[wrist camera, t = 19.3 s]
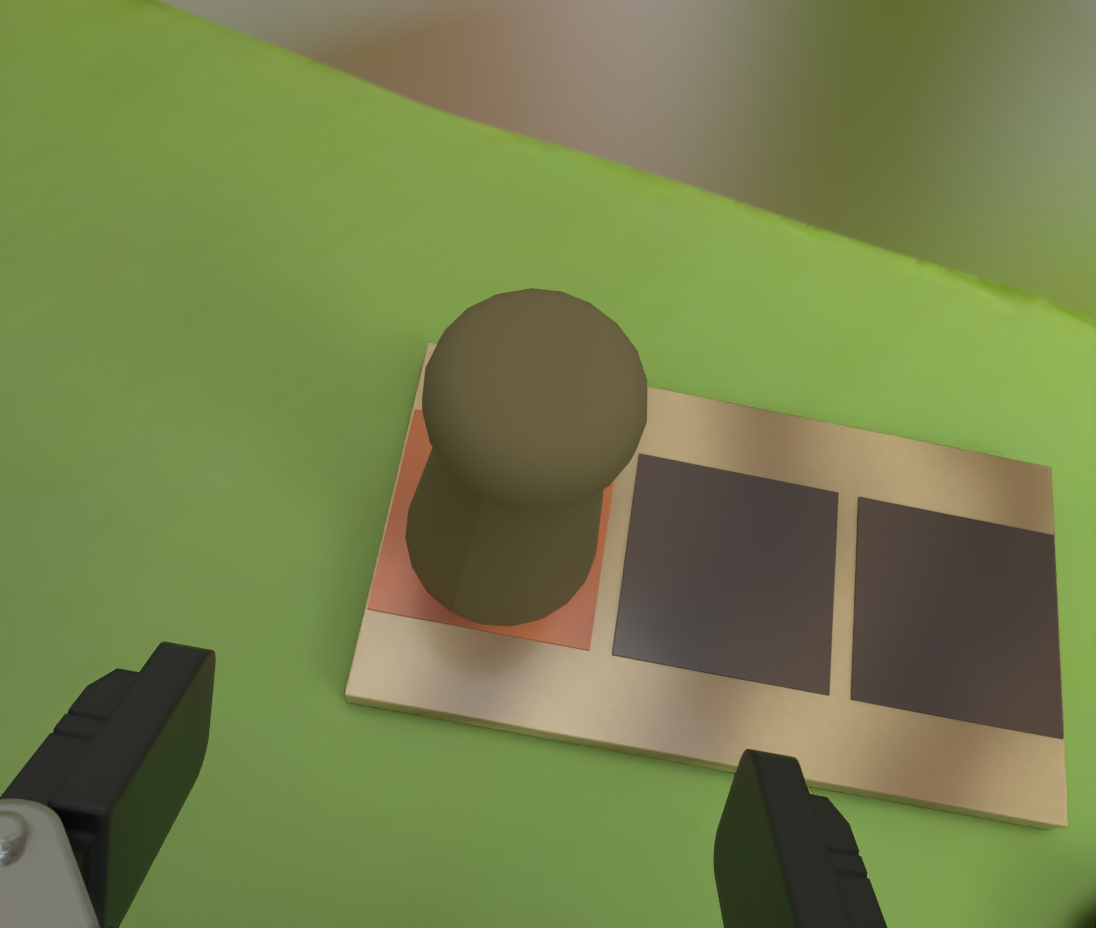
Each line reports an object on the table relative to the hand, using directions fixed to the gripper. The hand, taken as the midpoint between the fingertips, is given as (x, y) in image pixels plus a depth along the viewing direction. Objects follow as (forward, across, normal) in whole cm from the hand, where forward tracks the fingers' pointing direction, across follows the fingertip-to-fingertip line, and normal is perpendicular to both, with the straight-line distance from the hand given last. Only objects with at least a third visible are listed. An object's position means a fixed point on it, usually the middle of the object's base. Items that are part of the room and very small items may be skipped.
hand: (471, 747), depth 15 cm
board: (+17, -8, +5) cm, 20 cm away
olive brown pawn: (+16, 0, +4) cm, 17 cm away
